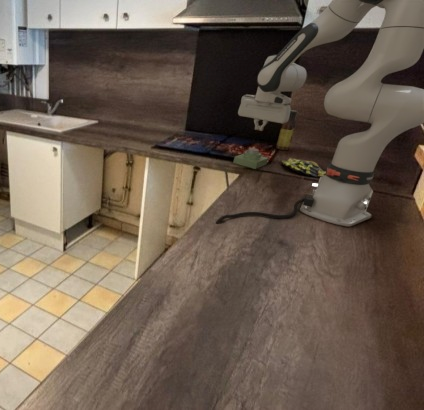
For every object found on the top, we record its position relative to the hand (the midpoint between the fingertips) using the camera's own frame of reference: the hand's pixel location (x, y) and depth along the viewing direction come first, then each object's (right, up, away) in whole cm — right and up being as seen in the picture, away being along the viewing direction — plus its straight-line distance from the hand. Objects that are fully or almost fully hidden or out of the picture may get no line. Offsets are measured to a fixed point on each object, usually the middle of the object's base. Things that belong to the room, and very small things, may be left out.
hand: (258, 130), depth 153 cm
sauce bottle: (+29, -3, +35) cm, 46 cm away
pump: (0, -10, +4) cm, 10 cm away
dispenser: (-1, -14, +6) cm, 15 cm away
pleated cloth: (+20, -17, +2) cm, 27 cm away
